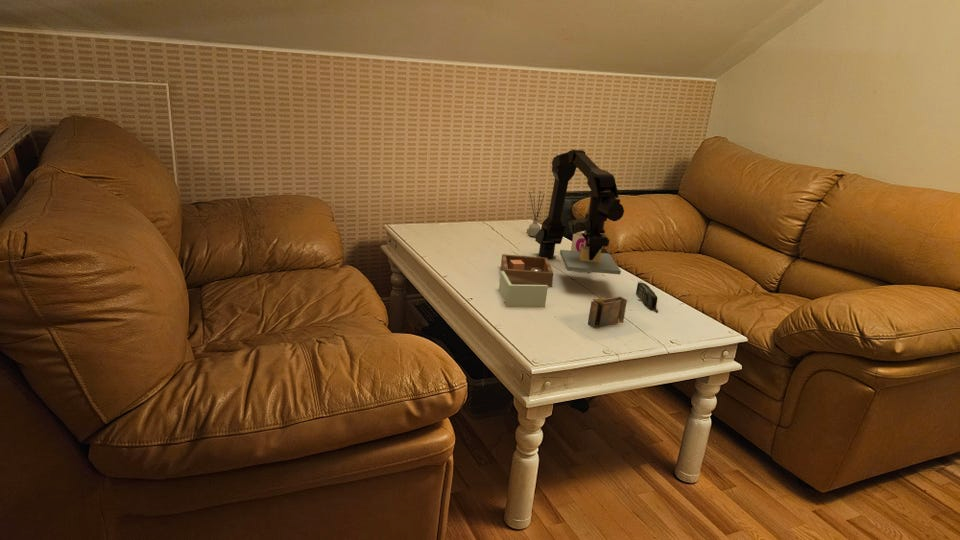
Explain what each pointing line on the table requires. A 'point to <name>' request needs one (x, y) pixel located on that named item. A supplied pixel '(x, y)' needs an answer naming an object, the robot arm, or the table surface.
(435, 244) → the table surface
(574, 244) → the supplement can
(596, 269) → the lid
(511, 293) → the right angle wall
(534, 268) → the grey metal cylinder
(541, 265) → the box
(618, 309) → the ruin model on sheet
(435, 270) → the table surface
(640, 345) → the table surface
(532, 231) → the reed diffuser
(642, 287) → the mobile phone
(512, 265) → the terracotta cube
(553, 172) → the robot arm
